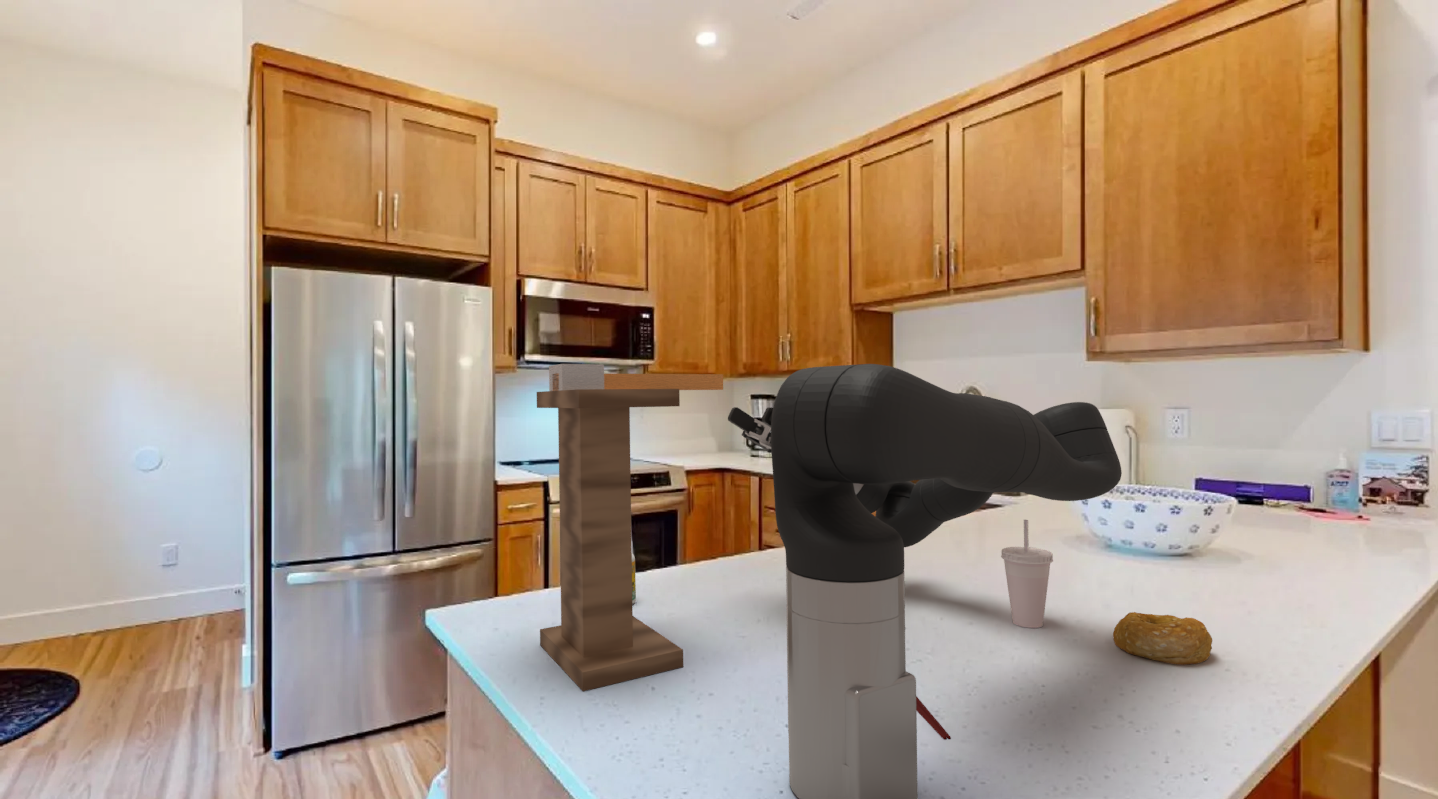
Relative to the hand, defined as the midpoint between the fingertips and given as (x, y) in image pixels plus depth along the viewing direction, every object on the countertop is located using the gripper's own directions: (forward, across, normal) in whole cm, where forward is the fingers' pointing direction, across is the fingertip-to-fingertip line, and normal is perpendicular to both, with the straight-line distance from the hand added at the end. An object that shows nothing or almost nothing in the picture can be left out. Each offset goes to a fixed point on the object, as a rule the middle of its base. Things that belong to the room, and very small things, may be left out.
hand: (747, 413), depth 92 cm
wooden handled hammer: (+15, 0, +5) cm, 16 cm away
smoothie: (-42, +20, +9) cm, 47 cm away
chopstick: (-17, +24, +24) cm, 38 cm away
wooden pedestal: (+3, 0, +35) cm, 35 cm away
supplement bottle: (-5, -19, +31) cm, 37 cm away
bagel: (-46, +34, +7) cm, 58 cm away
